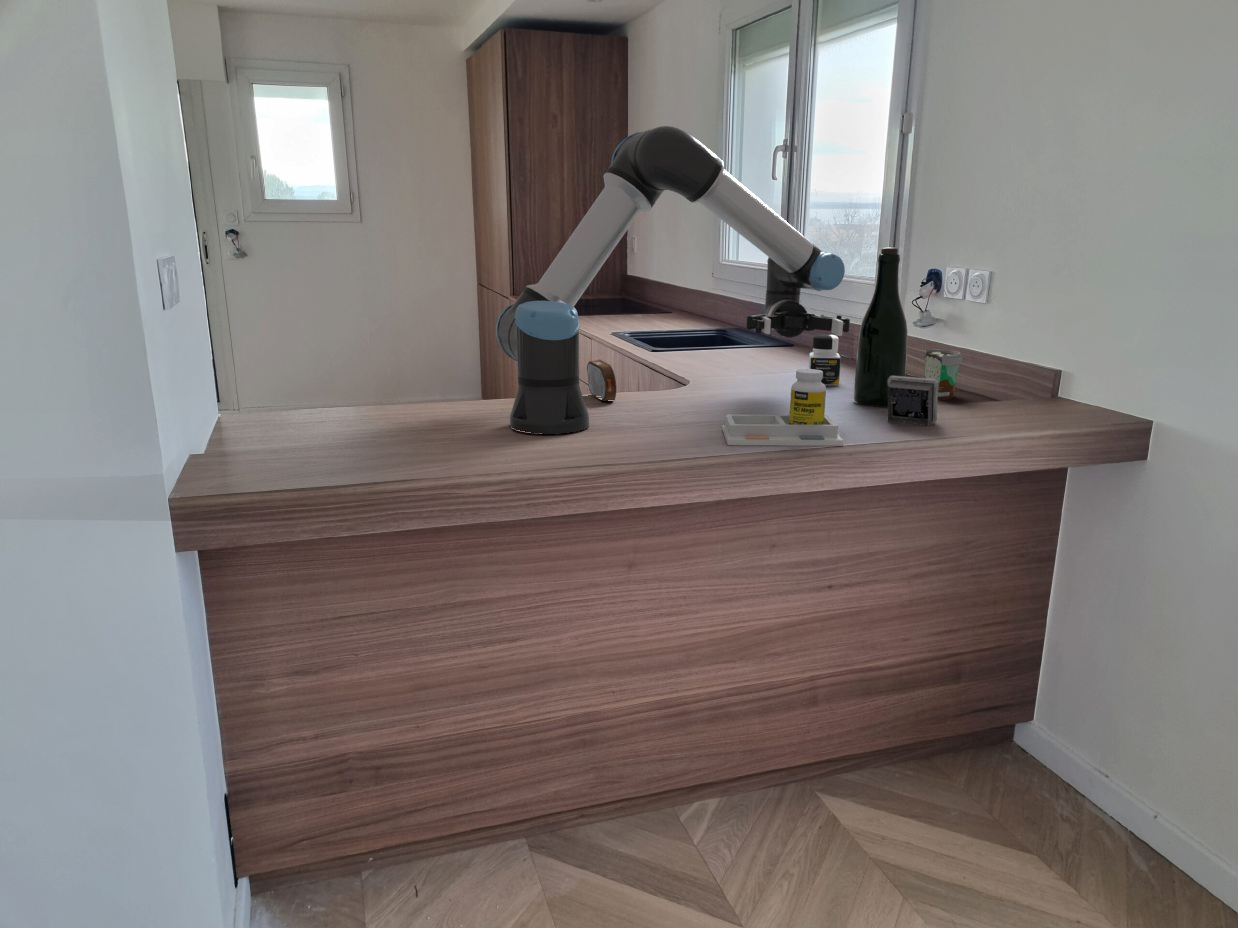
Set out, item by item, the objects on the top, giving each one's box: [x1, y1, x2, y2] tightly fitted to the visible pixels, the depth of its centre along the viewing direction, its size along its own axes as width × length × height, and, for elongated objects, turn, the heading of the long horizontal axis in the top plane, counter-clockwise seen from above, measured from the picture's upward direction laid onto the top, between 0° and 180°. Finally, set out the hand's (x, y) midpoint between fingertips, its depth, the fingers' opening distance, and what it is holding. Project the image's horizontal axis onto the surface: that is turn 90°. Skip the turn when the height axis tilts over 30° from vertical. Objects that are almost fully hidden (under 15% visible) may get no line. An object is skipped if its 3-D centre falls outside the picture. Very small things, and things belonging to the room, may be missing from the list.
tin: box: [586, 359, 617, 401], centre depth 192 cm, size 15×3×8 cm, turn 18°
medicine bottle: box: [808, 333, 842, 387], centre depth 210 cm, size 7×7×12 cm
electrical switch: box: [887, 376, 938, 427], centre depth 165 cm, size 9×5×9 cm, turn 57°
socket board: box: [722, 414, 844, 447], centre depth 154 cm, size 20×12×3 cm, turn 88°
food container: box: [923, 348, 963, 401], centre depth 193 cm, size 12×6×10 cm, turn 179°
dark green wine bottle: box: [853, 247, 908, 407], centre depth 182 cm, size 10×10×33 cm
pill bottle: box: [789, 368, 827, 425], centre depth 154 cm, size 6×6×11 cm
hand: (804, 327), depth 162 cm, fingers open, 13 cm apart
